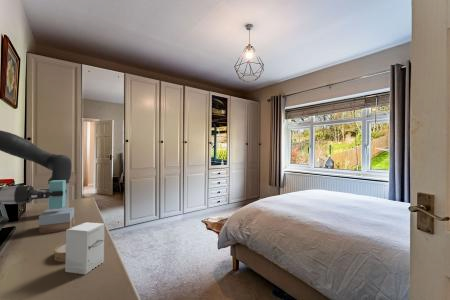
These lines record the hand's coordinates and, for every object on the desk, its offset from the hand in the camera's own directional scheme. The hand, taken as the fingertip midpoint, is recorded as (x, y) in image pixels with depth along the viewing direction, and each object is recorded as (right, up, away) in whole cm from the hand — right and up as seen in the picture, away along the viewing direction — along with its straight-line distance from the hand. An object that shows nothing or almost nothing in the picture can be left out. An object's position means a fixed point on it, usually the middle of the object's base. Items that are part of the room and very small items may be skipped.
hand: (64, 192), depth 102 cm
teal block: (-3, -7, -1) cm, 7 cm away
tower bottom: (-3, -17, 0) cm, 17 cm away
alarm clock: (+24, -17, -25) cm, 38 cm away
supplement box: (+32, -17, -34) cm, 49 cm away
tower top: (-3, -13, 0) cm, 13 cm away
